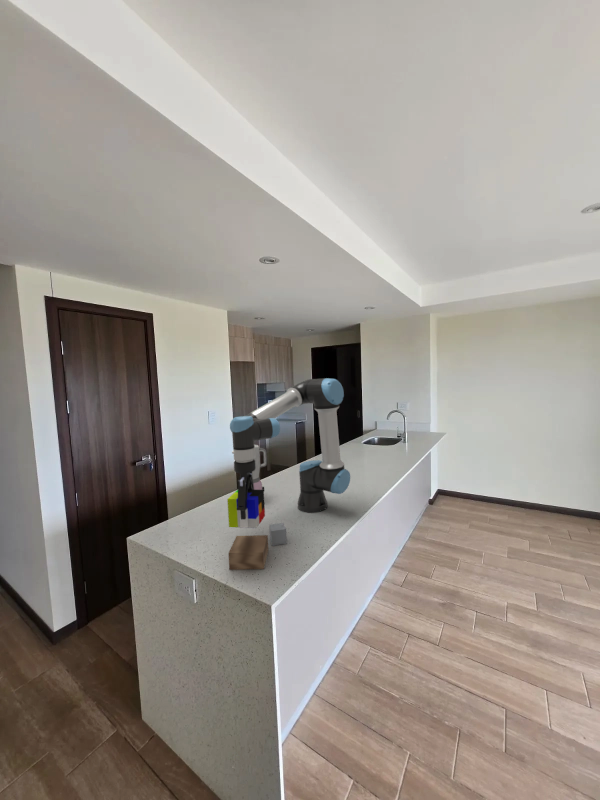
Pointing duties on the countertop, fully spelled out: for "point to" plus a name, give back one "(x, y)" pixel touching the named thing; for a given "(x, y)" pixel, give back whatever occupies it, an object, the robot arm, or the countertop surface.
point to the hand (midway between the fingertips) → (247, 520)
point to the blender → (258, 467)
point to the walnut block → (248, 552)
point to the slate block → (277, 534)
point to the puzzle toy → (254, 508)
